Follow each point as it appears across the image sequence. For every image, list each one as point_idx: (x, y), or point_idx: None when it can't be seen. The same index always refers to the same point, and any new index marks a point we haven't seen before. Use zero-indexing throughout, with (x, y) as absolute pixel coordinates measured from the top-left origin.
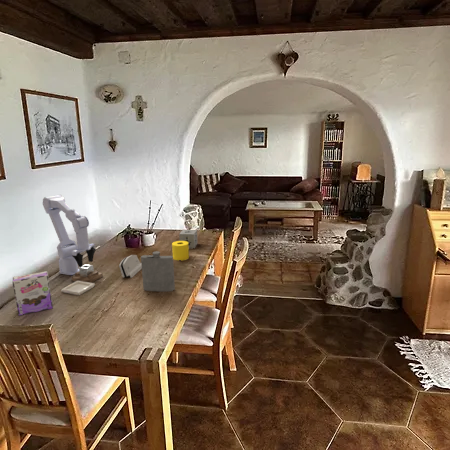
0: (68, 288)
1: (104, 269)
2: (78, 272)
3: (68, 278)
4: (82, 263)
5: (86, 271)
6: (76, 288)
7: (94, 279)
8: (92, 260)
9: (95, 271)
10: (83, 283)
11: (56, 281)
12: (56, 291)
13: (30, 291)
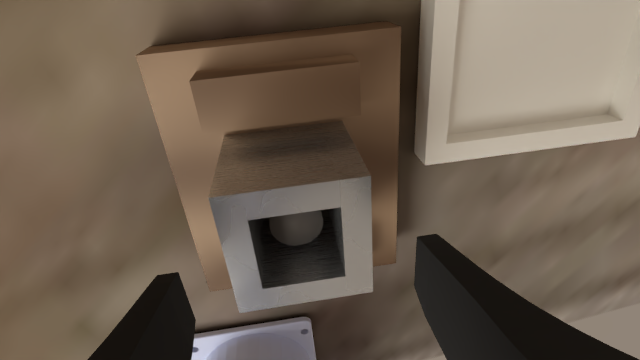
0: (562, 120)
1: (5, 192)
2: None
3: None
4: (448, 267)
5: (360, 159)
6: (553, 44)
7: (306, 32)
8: (156, 286)
9: (210, 125)
10: (447, 63)
11: None
12: (600, 175)
13: None
